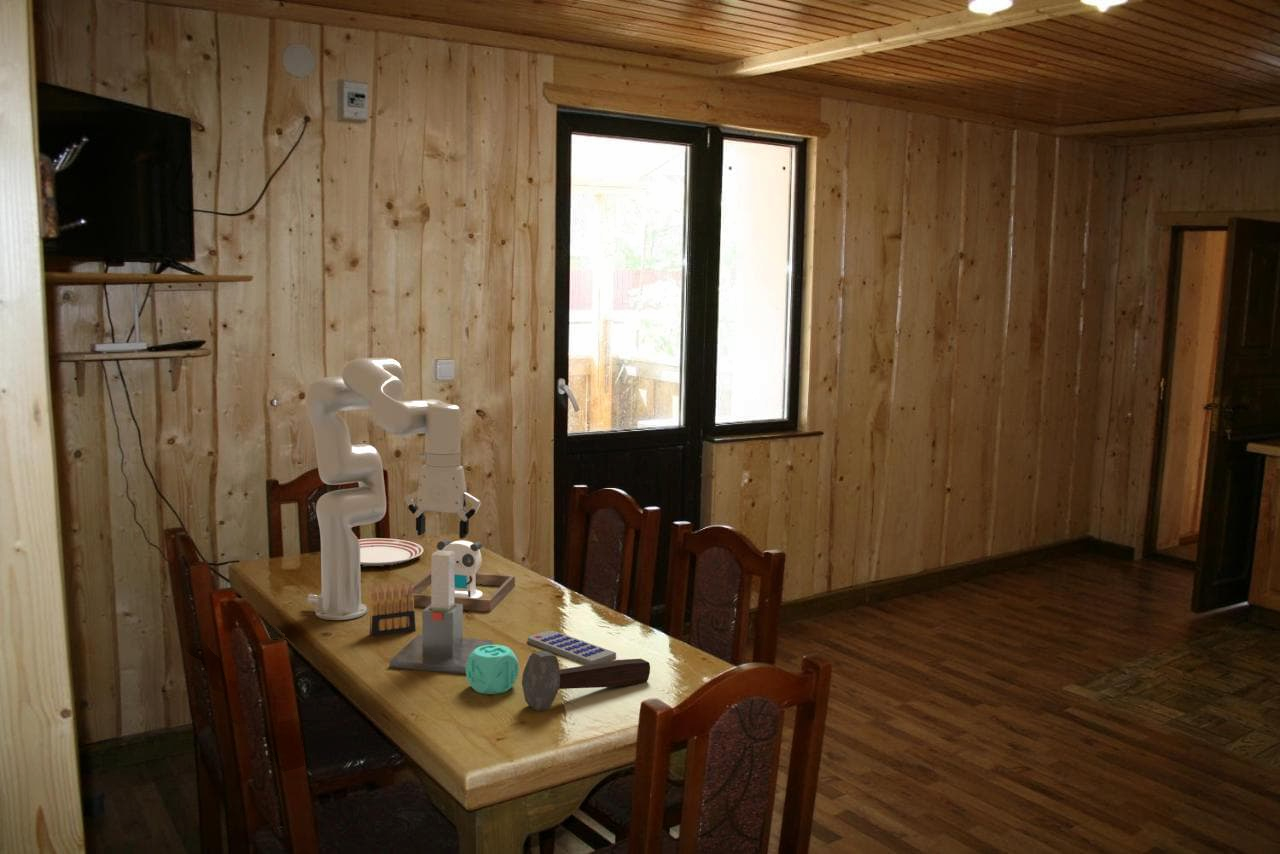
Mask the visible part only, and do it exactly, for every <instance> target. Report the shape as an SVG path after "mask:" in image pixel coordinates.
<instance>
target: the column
mask: <svg viewBox="0 0 1280 854" xmlns="http://www.w3.org/2000/svg"><path fill="white" fill-rule="evenodd" d="M430 558H431V559H430V560H431V563H430V564H431V567H430V568H431V569H430V572H431V585H430V587H431V589H430V591H431V592H430V595H431V610H436V611H449V612H450V611H451V610H452V609H453V608H454V607H455V603H454V569H455V551H442V550H438V549H437V550H436V551H435V552H433V553H431V557H430Z"/></svg>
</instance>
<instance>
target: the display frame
mask: <svg viewBox="0 0 1280 854" xmlns="http://www.w3.org/2000/svg"><path fill="white" fill-rule="evenodd" d="M430 584H431V571H429V572H428V573H427V574H426V575H424V576H423V577H422V578H420V579H419V580H417V581H416V582H415V583H414V584H412V586H413V597H414V607H424V608H427V607H428V606H429V605H430V604H431V594H424V593H423V594H422V592H423V591H425V590H426V589H427V588H428V587H430V586H431V585H430ZM480 584H482V585H483V586H494V585H496V586H497V587H498V588H497V590H495V591H494V592H493V593H492V594H491V595H490V596H489V597H488V598H482V597H481V598H467V597H454V603H457V604H463V611H476V612H492V611H493V609H494V608H496V607H497V606H498V604H500V602H501V601H502V600H504V598H505V597H506V596H507V595H508V594H509V593H510V591H512V590H513V589H514V588H515V587H516V575H513V574H499V573H498V574H497V573H486V572H485V573H484V572H476V585H480ZM429 585H430V586H429ZM427 586H428V587H427ZM514 586H515V587H514ZM426 587H427V588H426ZM425 588H426V589H425ZM424 589H425V590H424ZM421 591H422V592H421ZM420 592H421V593H420ZM419 593H420V594H419ZM406 599H408V588H407V589H406Z"/></svg>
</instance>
